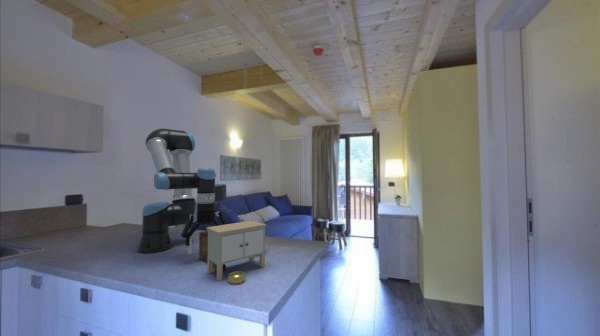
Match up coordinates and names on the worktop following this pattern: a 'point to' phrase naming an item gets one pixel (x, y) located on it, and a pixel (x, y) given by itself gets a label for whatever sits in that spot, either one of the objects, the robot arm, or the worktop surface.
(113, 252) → the worktop surface
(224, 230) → the cabinet
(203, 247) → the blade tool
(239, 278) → the token
